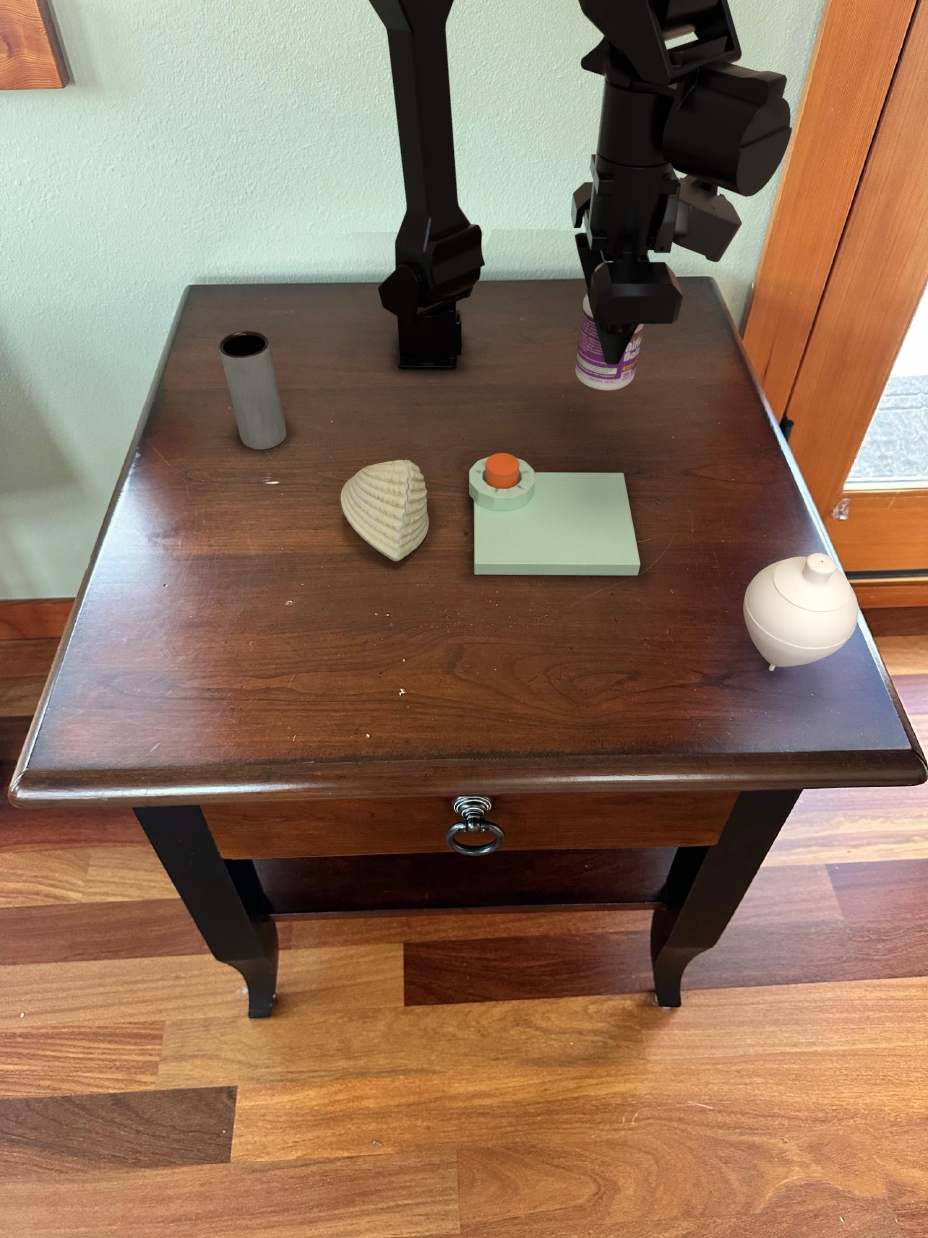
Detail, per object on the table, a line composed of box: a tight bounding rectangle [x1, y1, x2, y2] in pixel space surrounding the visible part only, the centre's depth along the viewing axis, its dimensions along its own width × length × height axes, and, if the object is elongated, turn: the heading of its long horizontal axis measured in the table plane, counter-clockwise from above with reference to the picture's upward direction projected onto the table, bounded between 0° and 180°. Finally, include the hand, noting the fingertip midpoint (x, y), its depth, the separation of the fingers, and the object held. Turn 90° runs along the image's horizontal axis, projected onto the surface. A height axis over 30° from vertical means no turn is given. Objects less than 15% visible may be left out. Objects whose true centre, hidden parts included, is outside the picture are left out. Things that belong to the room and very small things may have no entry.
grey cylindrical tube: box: [218, 330, 287, 450], centre depth 80 cm, size 4×4×10 cm
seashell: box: [340, 459, 430, 562], centre depth 73 cm, size 8×8×8 cm
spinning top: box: [742, 552, 859, 672], centre depth 60 cm, size 8×8×12 cm
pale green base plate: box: [468, 456, 641, 576], centre depth 74 cm, size 14×12×3 cm
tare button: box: [485, 452, 519, 489], centre depth 75 cm, size 3×3×2 cm
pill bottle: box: [574, 263, 645, 391], centre depth 71 cm, size 5×5×10 cm
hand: (607, 345), depth 72 cm, fingers closed on pill bottle, 5 cm apart
